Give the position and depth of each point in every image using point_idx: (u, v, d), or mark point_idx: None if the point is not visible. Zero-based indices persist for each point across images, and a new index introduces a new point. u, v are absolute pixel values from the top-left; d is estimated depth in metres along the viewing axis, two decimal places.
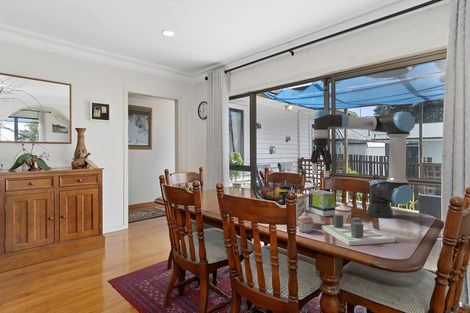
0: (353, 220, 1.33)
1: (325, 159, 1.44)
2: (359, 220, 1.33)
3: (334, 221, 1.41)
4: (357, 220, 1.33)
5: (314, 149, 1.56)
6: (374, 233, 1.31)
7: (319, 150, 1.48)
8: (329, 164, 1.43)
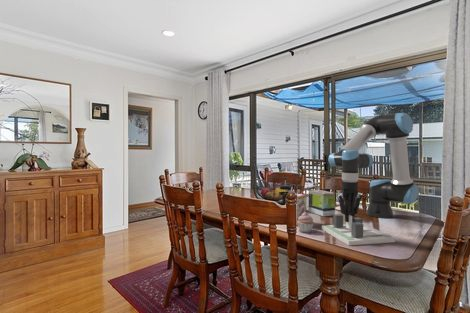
0: (354, 220, 1.33)
1: None
2: (360, 220, 1.33)
3: (334, 221, 1.41)
4: (358, 220, 1.33)
5: None
6: (374, 233, 1.31)
7: None
8: (345, 215, 1.33)
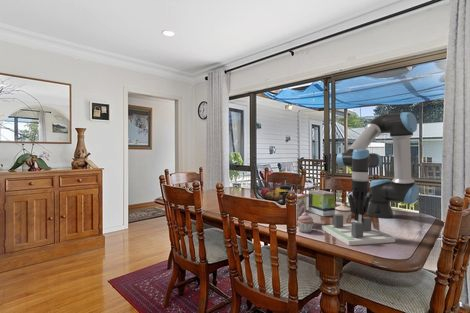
0: (363, 219, 1.34)
1: None
2: (369, 219, 1.34)
3: (334, 221, 1.41)
4: (367, 219, 1.34)
5: None
6: (374, 233, 1.31)
7: None
8: (355, 213, 1.34)
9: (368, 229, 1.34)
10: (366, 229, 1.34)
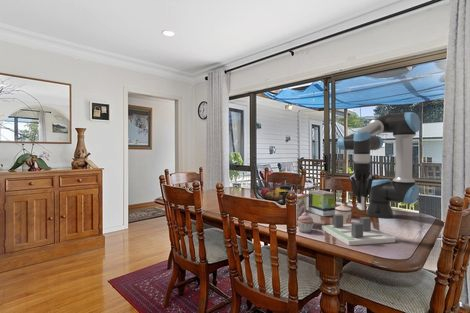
0: (362, 220, 1.34)
1: None
2: (368, 220, 1.34)
3: (334, 221, 1.41)
4: (366, 220, 1.34)
5: None
6: (374, 233, 1.31)
7: None
8: (358, 196, 1.34)
9: (367, 229, 1.34)
10: (365, 229, 1.34)
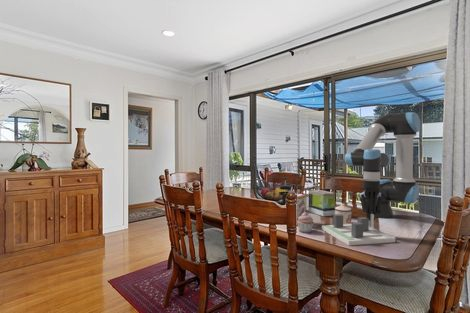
0: (360, 220, 1.34)
1: None
2: (366, 220, 1.34)
3: (334, 221, 1.41)
4: (364, 220, 1.34)
5: None
6: (374, 233, 1.31)
7: None
8: (367, 213, 1.35)
9: (365, 229, 1.34)
10: (363, 229, 1.34)
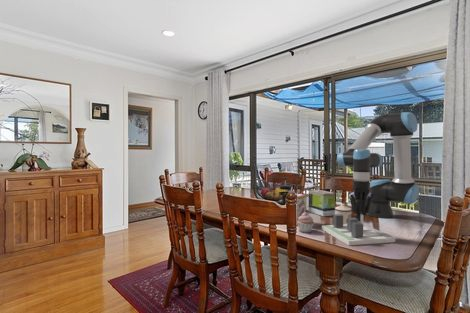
0: (349, 220, 1.33)
1: None
2: (355, 220, 1.33)
3: (334, 221, 1.41)
4: (353, 220, 1.33)
5: None
6: (374, 233, 1.31)
7: None
8: (357, 214, 1.34)
9: None
10: None
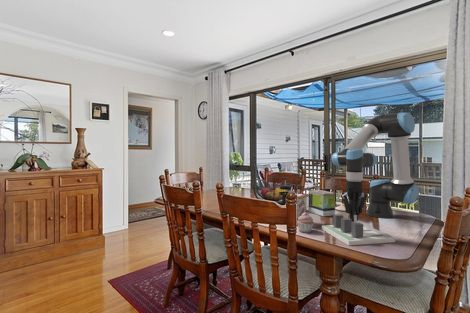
0: (343, 221, 1.32)
1: None
2: (349, 221, 1.32)
3: (334, 221, 1.41)
4: (347, 221, 1.32)
5: None
6: (374, 233, 1.31)
7: None
8: (350, 214, 1.33)
9: (348, 230, 1.32)
10: (346, 230, 1.32)
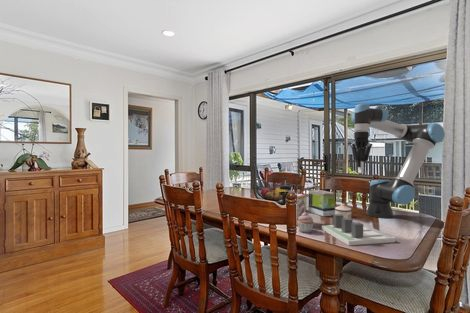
0: (344, 220, 1.32)
1: None
2: (350, 221, 1.32)
3: (334, 221, 1.41)
4: (348, 221, 1.32)
5: None
6: (374, 233, 1.31)
7: None
8: (357, 161, 1.53)
9: (349, 230, 1.32)
10: (347, 230, 1.32)
